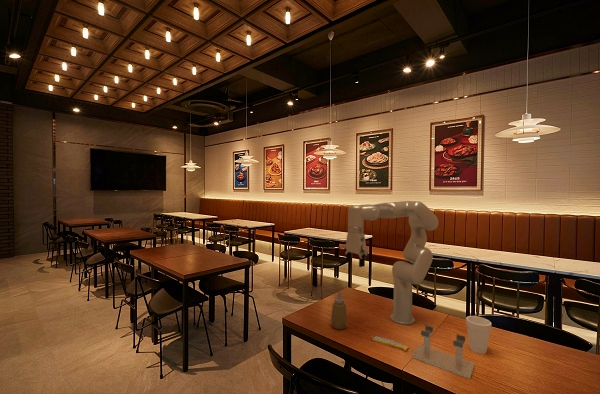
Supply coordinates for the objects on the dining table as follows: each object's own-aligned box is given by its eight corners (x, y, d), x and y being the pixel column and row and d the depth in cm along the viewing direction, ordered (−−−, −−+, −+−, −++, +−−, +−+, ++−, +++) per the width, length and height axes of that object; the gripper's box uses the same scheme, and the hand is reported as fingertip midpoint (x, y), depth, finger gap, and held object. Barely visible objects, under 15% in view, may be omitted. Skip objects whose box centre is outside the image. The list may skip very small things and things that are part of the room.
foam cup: (482, 358, 116) (483, 327, 116) (461, 347, 124) (461, 318, 124) (495, 352, 121) (495, 322, 120) (473, 342, 129) (474, 314, 129)
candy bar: (369, 341, 130) (369, 337, 130) (373, 337, 133) (373, 333, 133) (406, 353, 120) (406, 349, 120) (409, 349, 124) (409, 344, 123)
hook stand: (419, 347, 124) (419, 321, 124) (474, 366, 111) (474, 337, 110) (412, 357, 116) (412, 330, 116) (470, 379, 103) (470, 348, 103)
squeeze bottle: (348, 325, 144) (349, 290, 144) (344, 332, 137) (344, 296, 137) (333, 322, 148) (334, 288, 148) (328, 328, 140) (329, 293, 140)
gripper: (373, 232, 133) (373, 267, 134) (349, 228, 148) (349, 259, 148) (362, 232, 130) (361, 269, 130) (338, 228, 144) (338, 261, 145)
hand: (355, 264), depth 139 cm, fingers open, 9 cm apart
